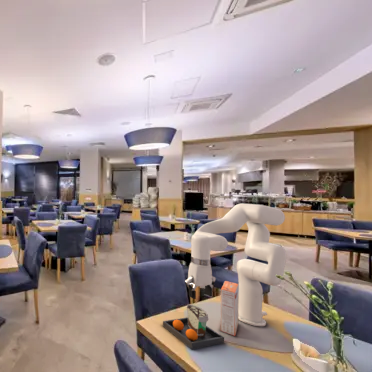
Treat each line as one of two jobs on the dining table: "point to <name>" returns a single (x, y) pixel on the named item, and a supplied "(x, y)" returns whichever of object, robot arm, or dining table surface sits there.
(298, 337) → the dining table surface
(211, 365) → the dining table surface
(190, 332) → the clementine
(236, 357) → the dining table surface
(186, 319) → the fruit tray
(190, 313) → the food container
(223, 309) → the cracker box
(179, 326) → the clementine
